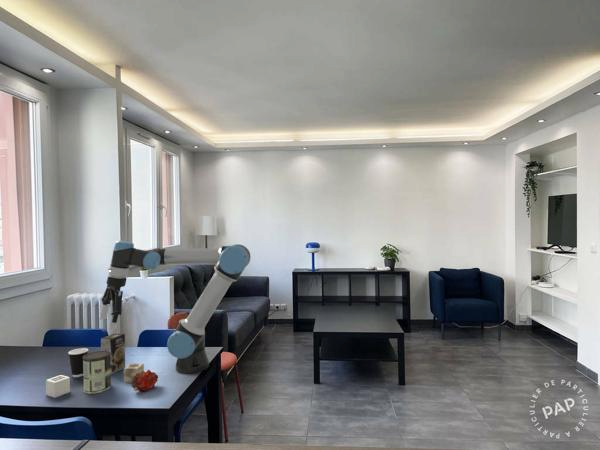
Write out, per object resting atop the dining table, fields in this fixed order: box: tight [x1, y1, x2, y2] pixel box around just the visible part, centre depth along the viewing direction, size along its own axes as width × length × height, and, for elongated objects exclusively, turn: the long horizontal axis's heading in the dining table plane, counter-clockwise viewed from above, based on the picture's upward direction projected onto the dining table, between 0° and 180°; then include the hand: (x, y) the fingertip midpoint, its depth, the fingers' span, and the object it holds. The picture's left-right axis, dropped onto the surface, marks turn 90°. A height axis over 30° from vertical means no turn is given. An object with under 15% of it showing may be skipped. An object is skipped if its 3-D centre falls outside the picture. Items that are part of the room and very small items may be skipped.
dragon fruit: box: [131, 369, 159, 393], centre depth 157 cm, size 8×8×12 cm
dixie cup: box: [68, 347, 89, 378], centre depth 173 cm, size 8×8×11 cm
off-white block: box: [45, 374, 71, 399], centre depth 154 cm, size 6×6×6 cm
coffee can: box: [83, 350, 112, 395], centre depth 158 cm, size 10×10×14 cm
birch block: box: [123, 362, 145, 383], centre depth 167 cm, size 6×6×6 cm
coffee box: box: [100, 333, 126, 375], centre depth 178 cm, size 9×6×16 cm
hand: (107, 324), depth 166 cm, fingers open, 13 cm apart
